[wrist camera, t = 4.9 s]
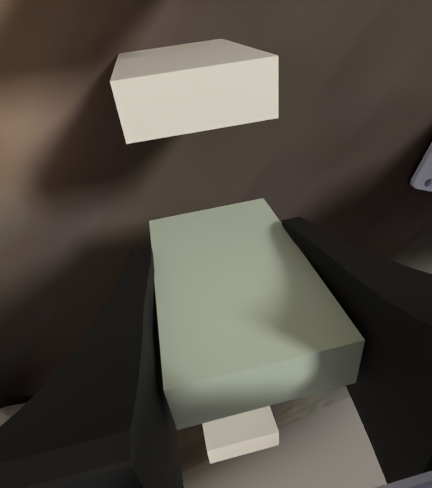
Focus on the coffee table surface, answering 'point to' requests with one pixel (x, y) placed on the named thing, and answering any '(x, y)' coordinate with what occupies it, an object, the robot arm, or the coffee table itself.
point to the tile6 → (240, 434)
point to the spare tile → (243, 315)
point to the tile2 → (193, 88)
